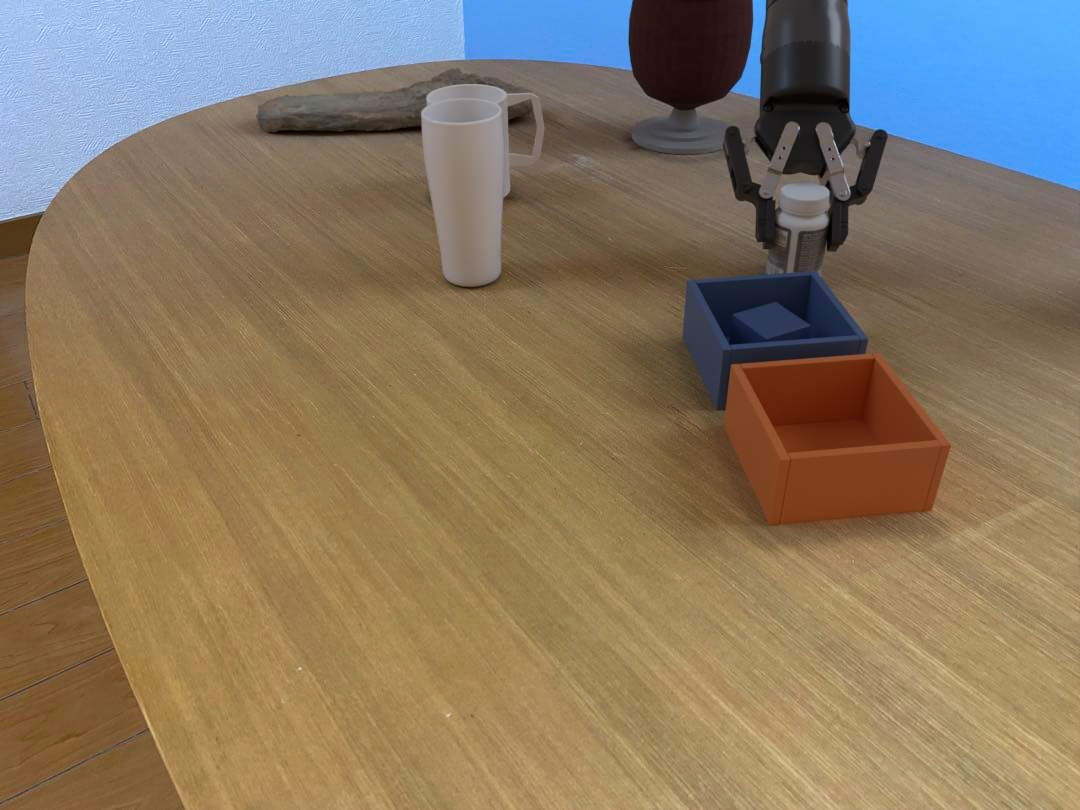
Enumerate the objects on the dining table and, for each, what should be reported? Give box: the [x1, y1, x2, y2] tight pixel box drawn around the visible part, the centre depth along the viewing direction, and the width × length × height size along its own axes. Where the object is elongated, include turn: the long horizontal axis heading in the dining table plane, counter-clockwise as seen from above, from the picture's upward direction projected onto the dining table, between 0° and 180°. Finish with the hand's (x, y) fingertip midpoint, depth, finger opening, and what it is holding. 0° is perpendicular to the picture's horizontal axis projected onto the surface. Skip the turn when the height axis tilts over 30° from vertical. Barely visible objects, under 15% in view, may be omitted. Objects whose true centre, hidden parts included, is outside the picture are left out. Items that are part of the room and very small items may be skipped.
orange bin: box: [723, 352, 952, 527], centre depth 60 cm, size 10×10×6 cm
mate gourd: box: [627, 0, 754, 156], centre depth 108 cm, size 16×14×20 cm
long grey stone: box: [255, 67, 534, 133], centre depth 119 cm, size 35×5×10 cm
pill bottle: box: [765, 181, 830, 278], centre depth 80 cm, size 5×5×8 cm
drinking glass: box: [420, 98, 505, 288], centre depth 80 cm, size 7×7×15 cm
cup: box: [426, 84, 546, 198], centre depth 98 cm, size 8×12×10 cm
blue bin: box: [681, 271, 869, 411], centre depth 69 cm, size 10×10×6 cm
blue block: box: [729, 302, 810, 345], centre depth 69 cm, size 4×4×4 cm
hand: (801, 246), depth 79 cm, fingers closed on pill bottle, 4 cm apart
